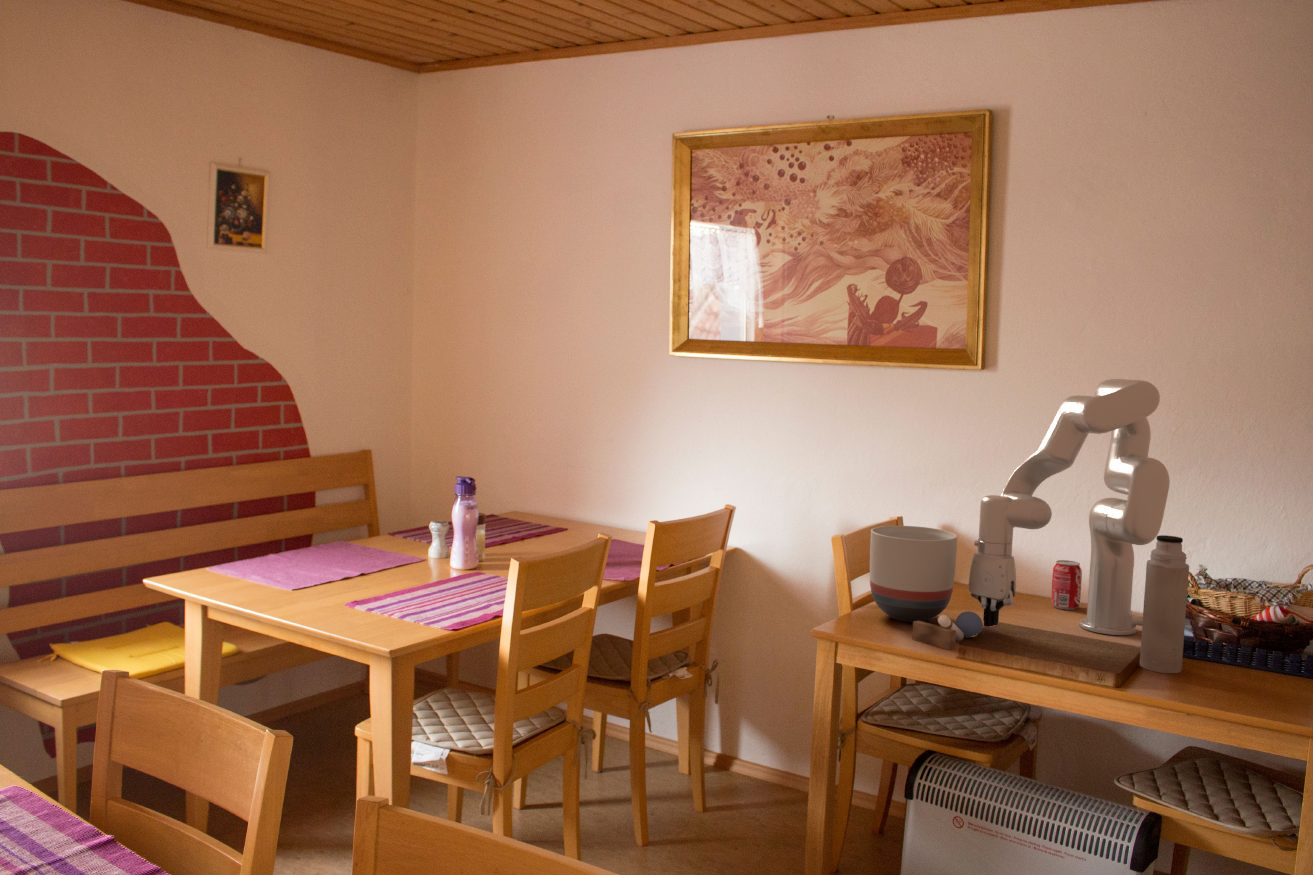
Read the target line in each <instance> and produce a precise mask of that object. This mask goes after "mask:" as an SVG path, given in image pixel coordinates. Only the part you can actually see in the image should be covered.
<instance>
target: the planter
mask: <svg viewBox="0 0 1313 875" xmlns="http://www.w3.org/2000/svg"><path fill="white" fill-rule="evenodd" d="M869 544H870V545H869V546H870V547H869V586H870V591H871V592H870V593H871V596H872V599H873V601H874V603H875V604H876V605H877V607H878V608H879V609H880V610H881V611H882V612H883V613H884V614H886V616H888V617H890V618H892V619H895V620H897V621H901V622H906V623H913V622H914V621H922V622H927V621H929V620H932V619H934V618H936V617H938V616H939V615H940V614H942V613H943V611H944V610H946V609H947V607H948V605H949V603H950V601H951V598H952V594H953V592H954V584H955V575H956V563H957V550H958V535H957V534H956V533H954V532H952V531H948V530H944V529H941V528H940V529H939V528H935V527H926V526H917V525H916V526H913V525H883V526H876V527H873V528H871V529H870V543H869Z"/></svg>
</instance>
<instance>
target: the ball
mask: <svg viewBox="0 0 1313 875" xmlns="http://www.w3.org/2000/svg"><path fill="white" fill-rule="evenodd" d="M982 620H983V619H982V618H981V617H980V616H979V615H978V613H975V612H974V611H970V610H969V611H963V612H961V613H960V614H958V616H957V617H956V619H955V623H954V624H955V625H956V626H957V627H958V628H959V629H960V630H961V631H962V632H963V633H964V637H963V638H967V639H969V638H968V637H971V636H973V635H976V634H978V633H979V632H981V633H982V631H983V627H984V622H983V621H982Z"/></svg>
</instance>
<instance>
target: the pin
mask: <svg viewBox="0 0 1313 875" xmlns="http://www.w3.org/2000/svg"><path fill="white" fill-rule="evenodd" d="M937 622H938V624H939V626H941V627H944V628H948V629H952V630H956V639H955V641H958V642H959V641H962V640H963V639H964V638H965V637H964V633H963V632H962V631H961V630H960V629H959V628H958V627H957V626H956V625H955V623H954V622H953V620H952V619H951V618H949V617H948V616H947V615H946V614H941V615H940V616H938V618H937Z"/></svg>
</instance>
